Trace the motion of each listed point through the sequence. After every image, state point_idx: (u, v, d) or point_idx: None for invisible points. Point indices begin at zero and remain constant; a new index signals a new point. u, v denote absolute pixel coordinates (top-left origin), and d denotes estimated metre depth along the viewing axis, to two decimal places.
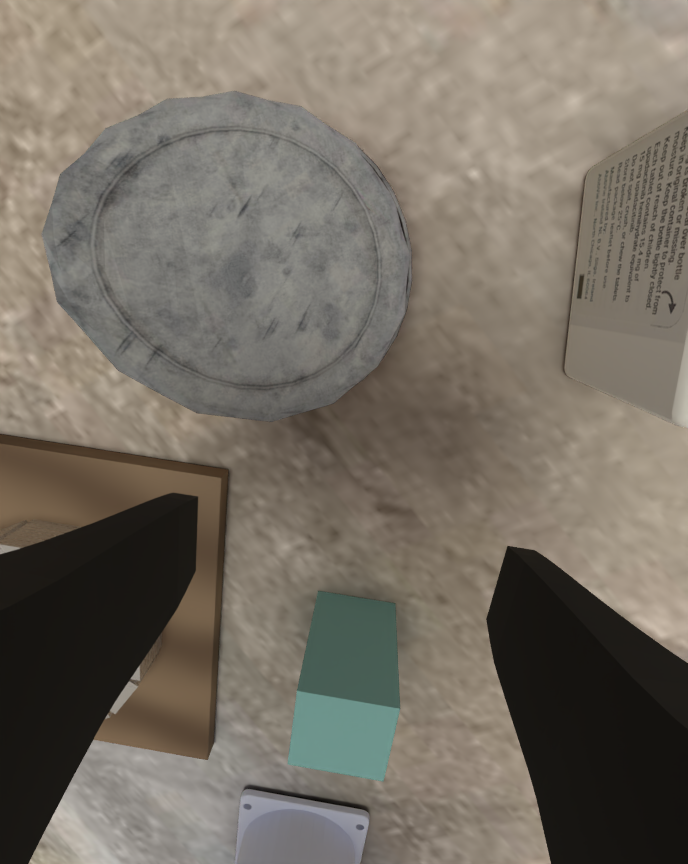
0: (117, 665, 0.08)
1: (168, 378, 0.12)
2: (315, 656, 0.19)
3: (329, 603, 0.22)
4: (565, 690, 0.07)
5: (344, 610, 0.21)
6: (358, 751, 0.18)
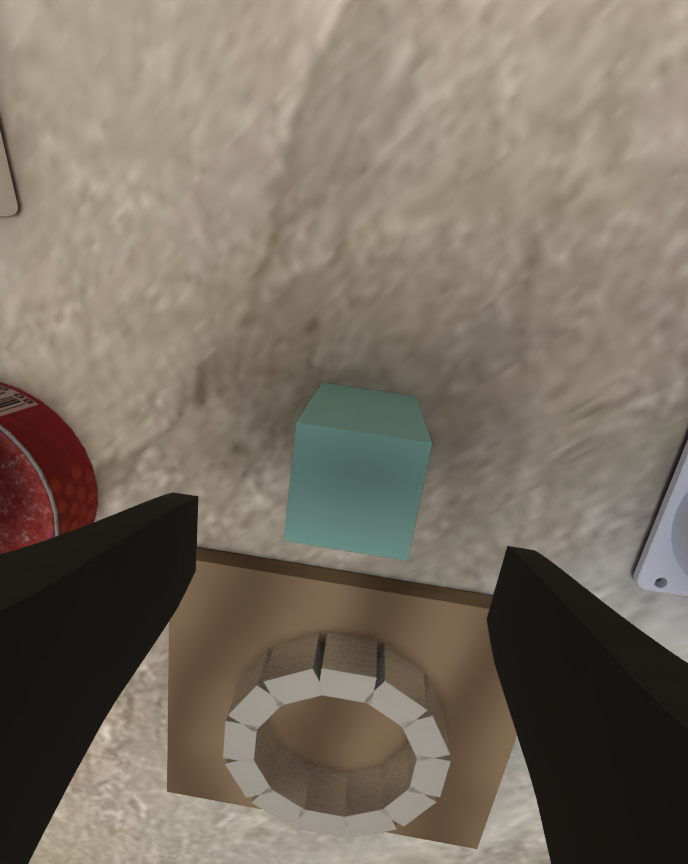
0: (117, 665, 0.08)
1: None
2: None
3: None
4: (565, 690, 0.07)
5: None
6: (376, 474, 0.13)
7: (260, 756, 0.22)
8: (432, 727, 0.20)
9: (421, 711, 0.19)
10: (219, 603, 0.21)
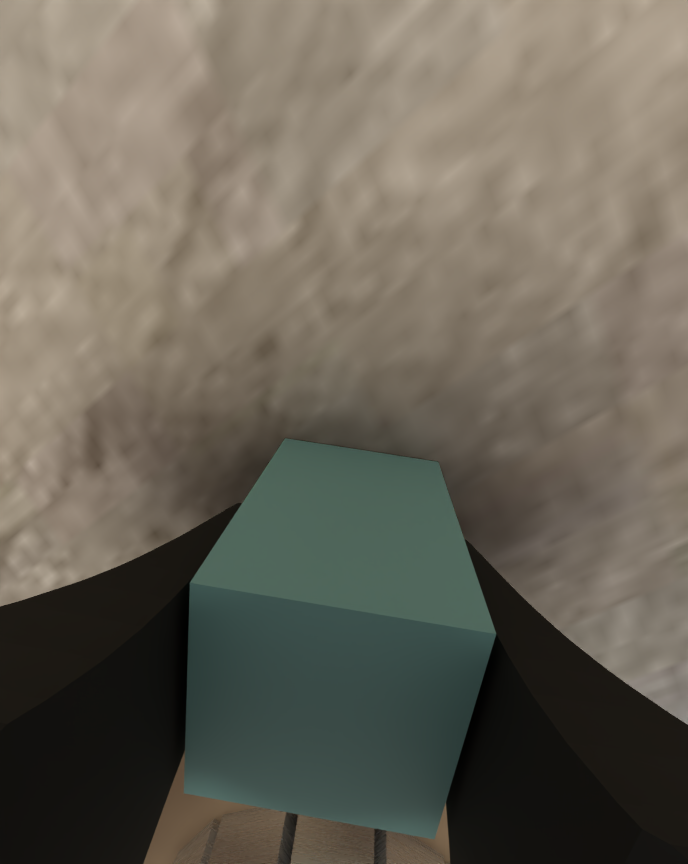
0: None
1: None
2: None
3: None
4: None
5: None
6: (371, 688, 0.06)
7: None
8: None
9: None
10: None
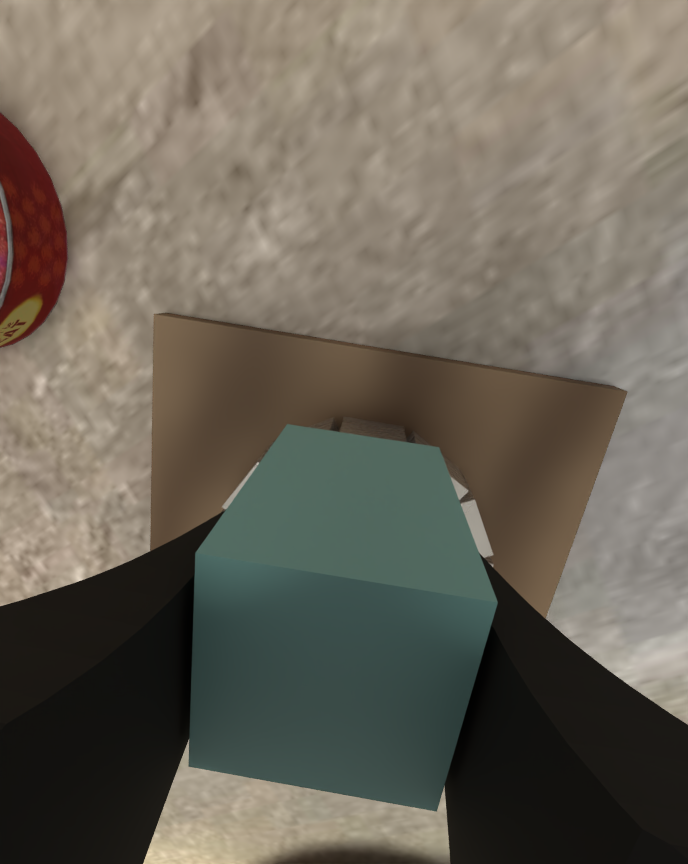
0: None
1: None
2: None
3: None
4: None
5: None
6: (374, 659, 0.06)
7: None
8: (473, 516, 0.16)
9: (461, 493, 0.16)
10: (213, 380, 0.17)
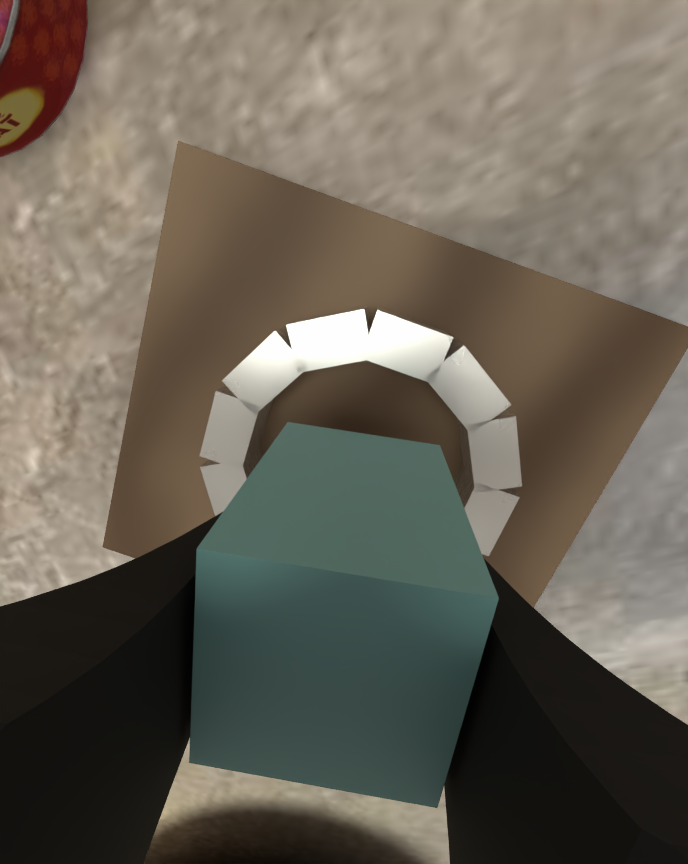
0: None
1: None
2: None
3: None
4: None
5: None
6: (375, 655, 0.06)
7: (250, 472, 0.16)
8: (510, 436, 0.14)
9: (502, 406, 0.14)
10: (234, 238, 0.15)
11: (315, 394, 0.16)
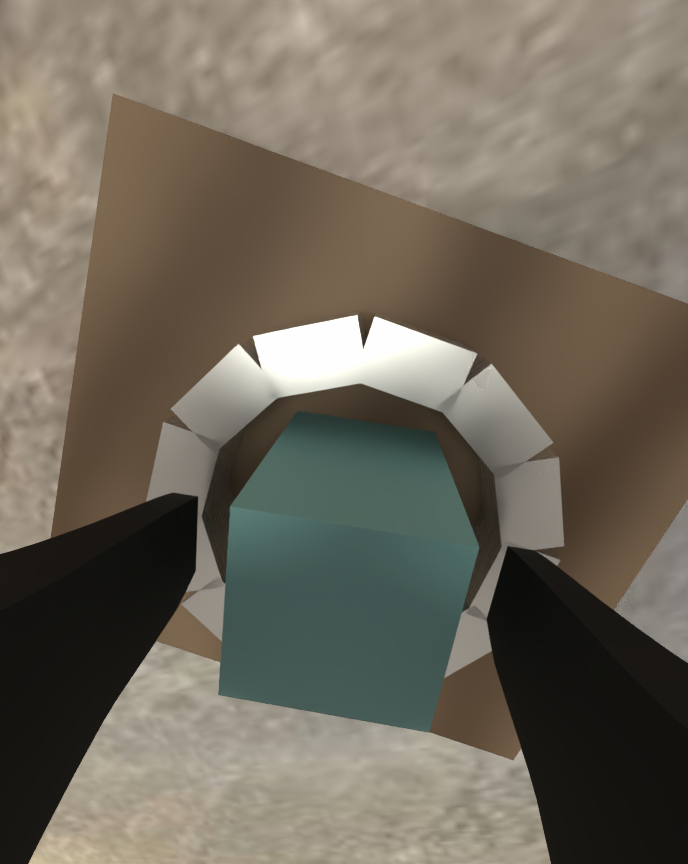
0: (117, 665, 0.08)
1: None
2: None
3: None
4: (565, 690, 0.07)
5: None
6: (377, 596, 0.07)
7: (213, 522, 0.12)
8: (550, 483, 0.10)
9: (541, 443, 0.10)
10: (190, 222, 0.11)
11: None
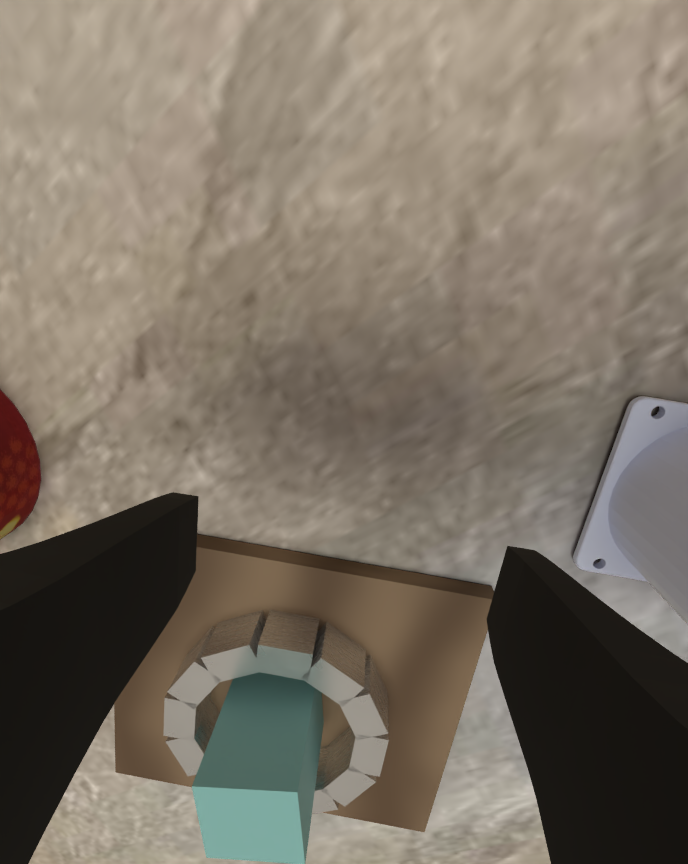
0: (117, 665, 0.08)
1: None
2: None
3: None
4: (565, 690, 0.07)
5: None
6: (262, 813, 0.17)
7: (202, 735, 0.22)
8: (369, 705, 0.20)
9: (358, 689, 0.19)
10: None
11: None
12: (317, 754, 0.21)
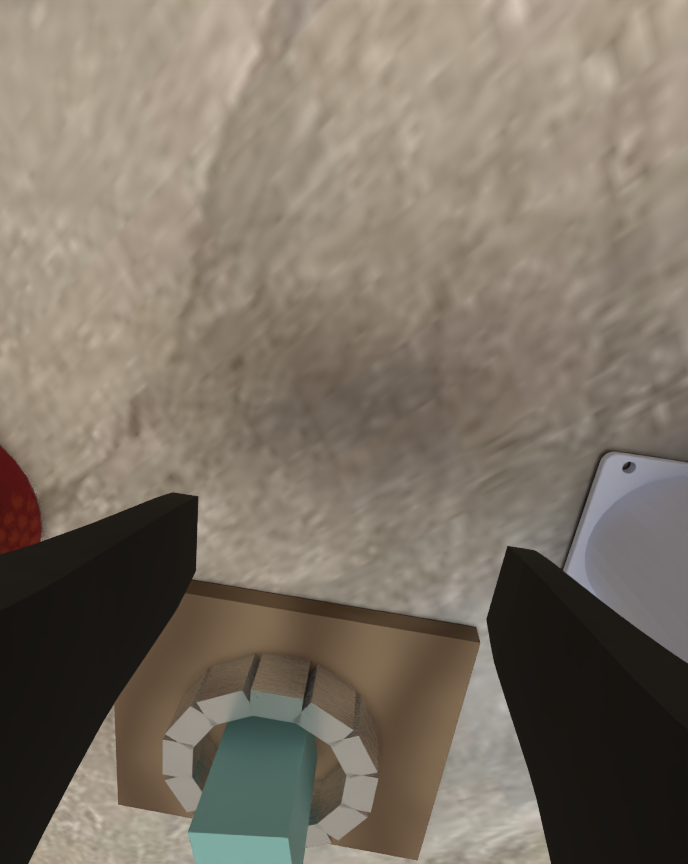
0: (117, 665, 0.08)
1: None
2: None
3: None
4: (565, 690, 0.07)
5: None
6: (255, 857, 0.17)
7: (200, 772, 0.22)
8: (359, 746, 0.20)
9: (347, 731, 0.20)
10: None
11: None
12: (310, 791, 0.22)
